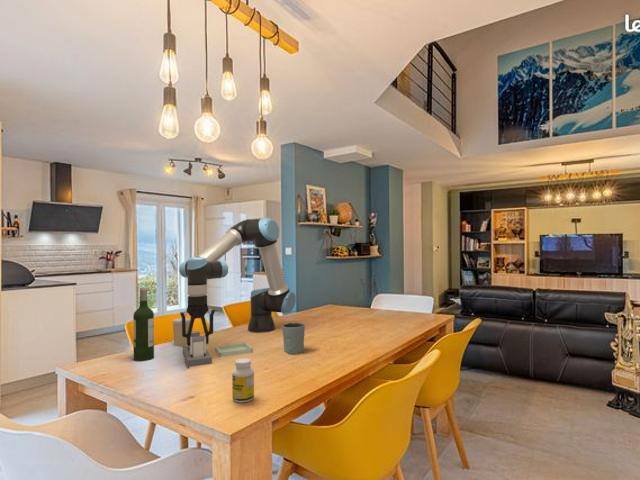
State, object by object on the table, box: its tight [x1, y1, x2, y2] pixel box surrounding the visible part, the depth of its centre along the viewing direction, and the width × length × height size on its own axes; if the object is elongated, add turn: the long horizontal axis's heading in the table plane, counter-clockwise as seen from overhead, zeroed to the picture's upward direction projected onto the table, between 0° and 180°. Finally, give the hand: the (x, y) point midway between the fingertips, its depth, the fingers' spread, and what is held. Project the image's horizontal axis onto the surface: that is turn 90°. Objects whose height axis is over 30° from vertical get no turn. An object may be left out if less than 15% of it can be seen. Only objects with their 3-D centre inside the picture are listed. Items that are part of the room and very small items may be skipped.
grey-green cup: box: [281, 322, 306, 356], centre depth 164 cm, size 10×10×12 cm
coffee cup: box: [172, 317, 191, 347], centre depth 181 cm, size 9×9×12 cm
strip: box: [182, 345, 213, 369], centre depth 156 cm, size 9×24×4 cm, turn 25°
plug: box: [192, 335, 204, 358], centre depth 151 cm, size 4×4×10 cm
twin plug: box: [189, 330, 201, 350], centre depth 162 cm, size 4×4×10 cm
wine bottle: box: [132, 286, 155, 362], centre depth 158 cm, size 8×8×30 cm
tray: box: [214, 341, 253, 358], centre depth 165 cm, size 14×12×2 cm
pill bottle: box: [231, 357, 255, 403], centre depth 113 cm, size 6×6×12 cm
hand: (198, 352), depth 151 cm, fingers open, 4 cm apart
